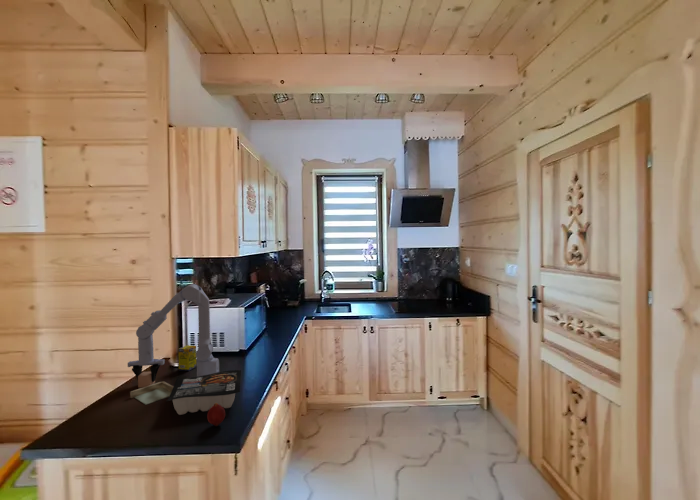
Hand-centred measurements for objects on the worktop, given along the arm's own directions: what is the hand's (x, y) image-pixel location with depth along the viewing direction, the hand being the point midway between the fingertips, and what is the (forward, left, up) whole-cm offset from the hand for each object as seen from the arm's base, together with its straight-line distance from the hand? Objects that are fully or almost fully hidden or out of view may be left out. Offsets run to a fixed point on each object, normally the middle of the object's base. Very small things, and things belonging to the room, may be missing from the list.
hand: (146, 381), depth 152 cm
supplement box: (-12, -17, -2) cm, 21 cm away
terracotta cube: (0, 0, -1) cm, 1 cm away
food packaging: (-31, +21, -2) cm, 38 cm away
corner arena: (-8, +12, -1) cm, 14 cm away
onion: (-39, +41, -2) cm, 57 cm away
